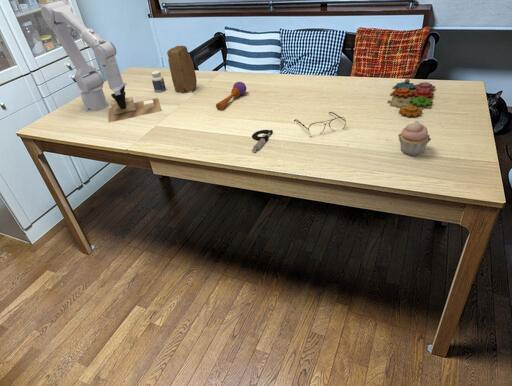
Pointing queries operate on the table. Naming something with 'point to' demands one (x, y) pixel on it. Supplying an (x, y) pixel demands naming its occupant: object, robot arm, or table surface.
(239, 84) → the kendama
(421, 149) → the cupcake
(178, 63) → the block
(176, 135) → the table surface
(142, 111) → the board
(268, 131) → the micrometer
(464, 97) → the table surface
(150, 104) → the eraser
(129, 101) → the sanding block
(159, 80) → the pill bottle
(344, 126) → the glasses
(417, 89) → the gear puzzle
